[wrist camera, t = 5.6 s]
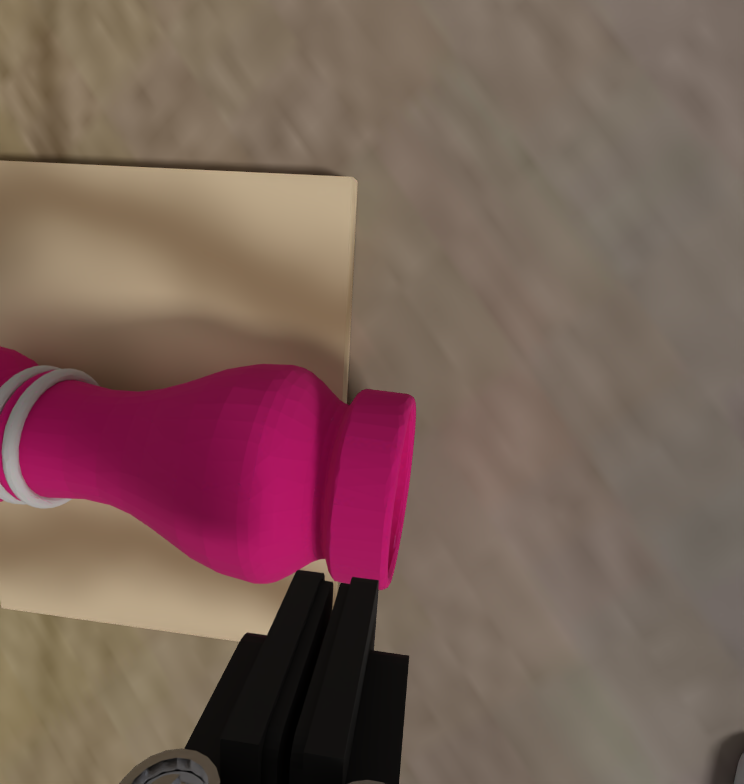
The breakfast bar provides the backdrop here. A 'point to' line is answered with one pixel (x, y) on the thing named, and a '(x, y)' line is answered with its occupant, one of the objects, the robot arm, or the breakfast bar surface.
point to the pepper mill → (219, 463)
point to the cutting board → (162, 351)
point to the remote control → (740, 771)
